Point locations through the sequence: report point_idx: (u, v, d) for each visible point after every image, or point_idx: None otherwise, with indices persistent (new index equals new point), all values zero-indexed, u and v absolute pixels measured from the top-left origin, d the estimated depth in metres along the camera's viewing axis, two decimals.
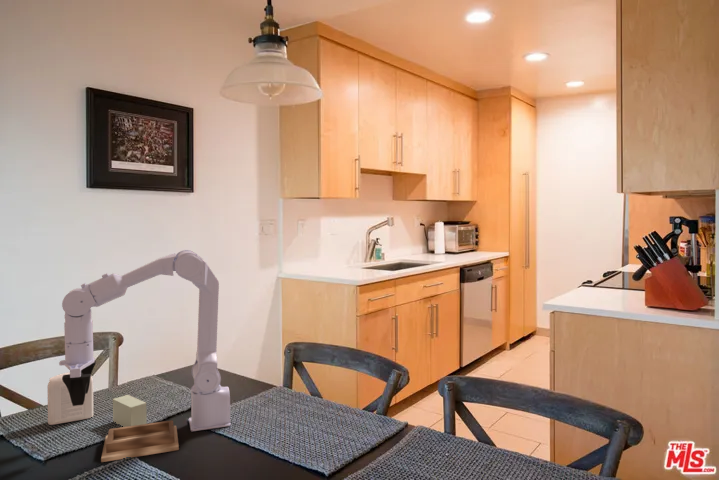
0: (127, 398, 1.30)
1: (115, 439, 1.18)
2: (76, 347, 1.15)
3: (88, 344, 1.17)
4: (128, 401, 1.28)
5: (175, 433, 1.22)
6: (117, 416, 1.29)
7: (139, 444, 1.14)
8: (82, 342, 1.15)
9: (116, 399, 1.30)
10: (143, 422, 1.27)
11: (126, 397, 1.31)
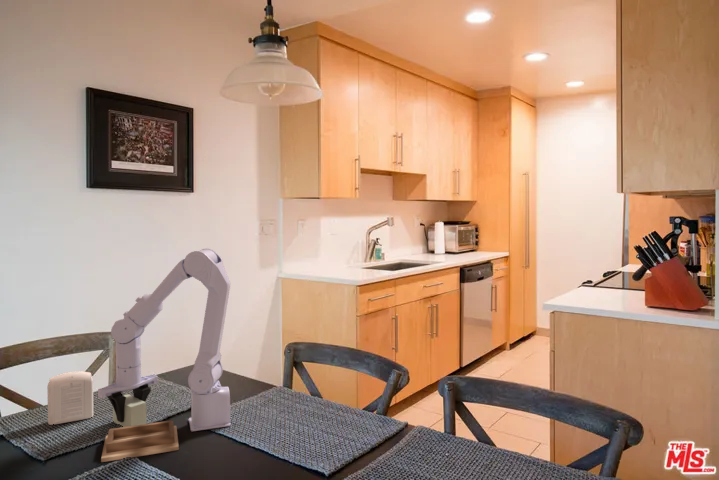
0: (126, 398, 1.30)
1: (115, 439, 1.18)
2: (117, 370, 1.26)
3: (125, 370, 1.25)
4: (127, 401, 1.28)
5: (175, 433, 1.22)
6: None
7: (139, 444, 1.14)
8: (128, 367, 1.26)
9: None
10: (143, 422, 1.27)
11: (126, 396, 1.31)
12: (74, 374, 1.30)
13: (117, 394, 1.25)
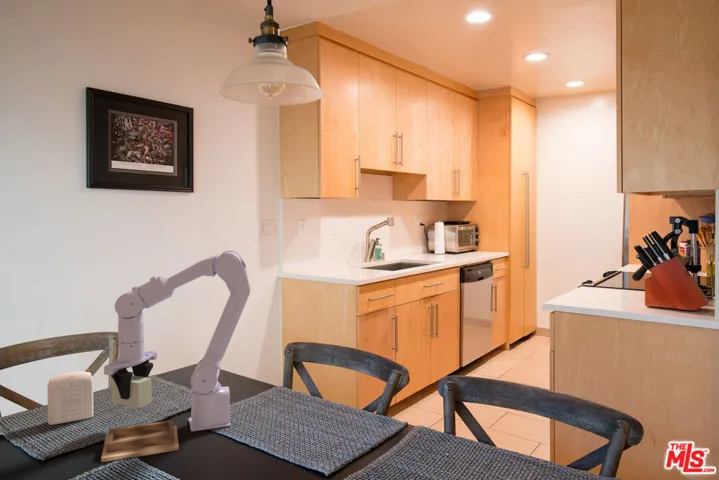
0: None
1: (115, 439, 1.18)
2: (121, 346, 1.22)
3: (131, 345, 1.22)
4: None
5: (175, 433, 1.22)
6: (118, 395, 1.25)
7: (139, 444, 1.14)
8: (132, 342, 1.22)
9: None
10: (149, 398, 1.25)
11: None
12: (74, 374, 1.30)
13: (123, 370, 1.22)
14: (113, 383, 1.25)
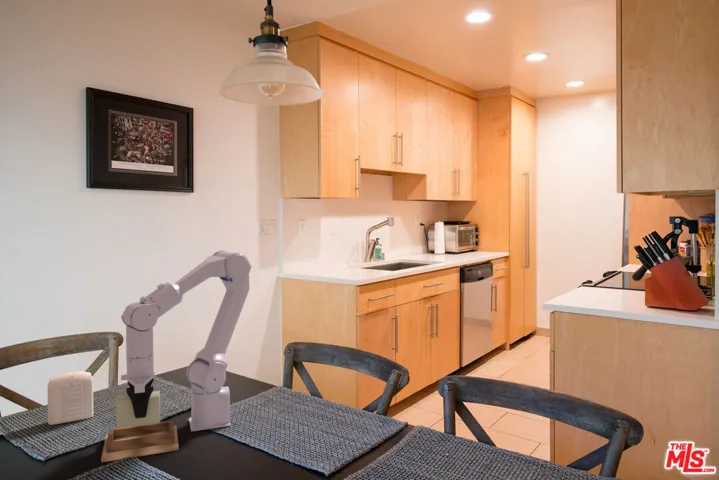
0: (128, 396, 1.17)
1: (115, 439, 1.18)
2: (138, 362, 1.14)
3: (149, 358, 1.16)
4: None
5: (175, 433, 1.22)
6: (128, 416, 1.15)
7: (139, 444, 1.14)
8: (148, 356, 1.16)
9: (121, 400, 1.15)
10: None
11: (123, 396, 1.17)
12: (74, 374, 1.30)
13: (144, 386, 1.14)
14: (119, 406, 1.14)
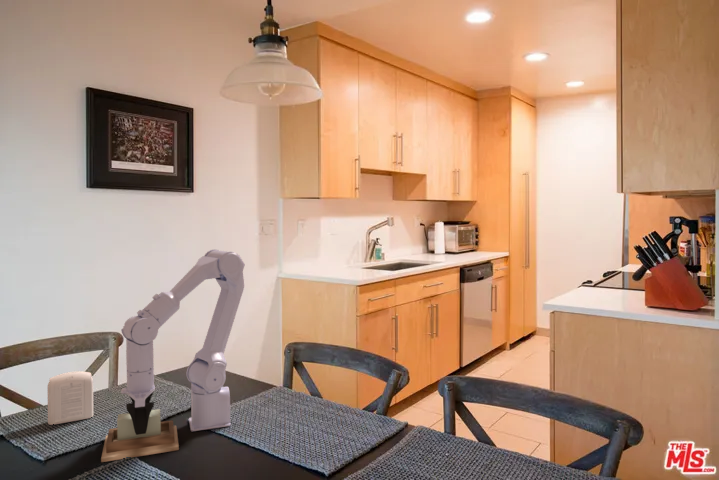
0: (129, 415, 1.17)
1: (115, 439, 1.18)
2: (139, 375, 1.14)
3: (150, 372, 1.16)
4: None
5: (175, 433, 1.22)
6: (129, 436, 1.15)
7: (139, 444, 1.14)
8: (149, 369, 1.16)
9: (122, 419, 1.15)
10: None
11: (124, 415, 1.17)
12: (74, 374, 1.30)
13: (144, 402, 1.13)
14: (120, 425, 1.14)
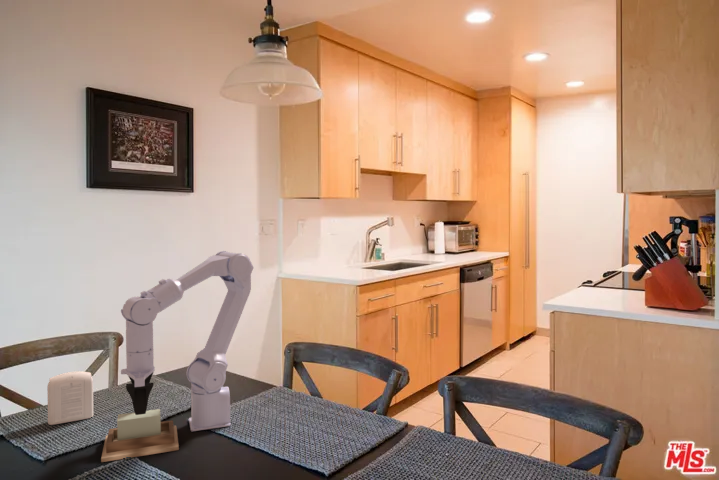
0: (129, 415, 1.17)
1: (115, 439, 1.18)
2: (138, 356, 1.14)
3: (149, 353, 1.16)
4: (140, 415, 1.17)
5: (175, 433, 1.22)
6: (129, 436, 1.15)
7: (139, 444, 1.14)
8: (148, 350, 1.16)
9: (122, 419, 1.15)
10: None
11: (124, 415, 1.17)
12: (74, 374, 1.30)
13: None
14: (120, 425, 1.14)
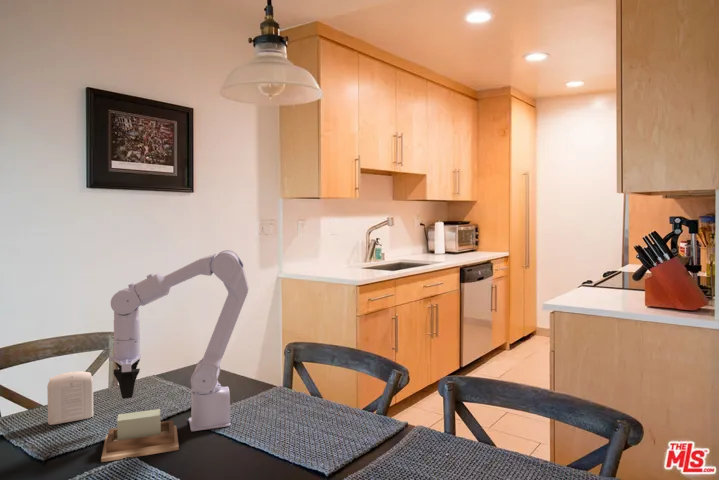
0: (129, 415, 1.17)
1: (115, 439, 1.18)
2: (125, 343, 1.22)
3: (136, 341, 1.24)
4: (140, 415, 1.17)
5: (175, 433, 1.22)
6: (129, 436, 1.15)
7: (139, 444, 1.14)
8: (128, 339, 1.22)
9: (122, 419, 1.15)
10: None
11: (124, 415, 1.17)
12: (74, 374, 1.30)
13: (131, 368, 1.21)
14: (120, 425, 1.14)
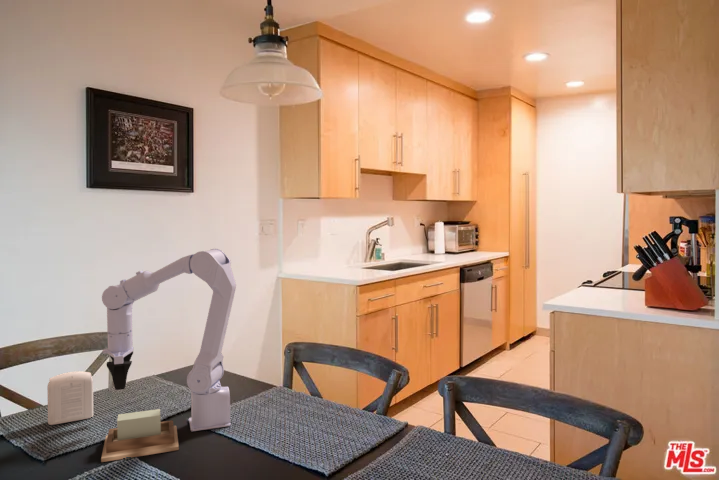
0: (129, 415, 1.17)
1: (115, 439, 1.18)
2: (118, 337, 1.27)
3: (128, 334, 1.29)
4: (140, 415, 1.17)
5: (175, 433, 1.22)
6: (129, 436, 1.15)
7: (139, 444, 1.14)
8: (118, 333, 1.27)
9: (122, 419, 1.15)
10: None
11: (124, 415, 1.17)
12: (74, 374, 1.30)
13: (123, 361, 1.26)
14: (120, 425, 1.14)
